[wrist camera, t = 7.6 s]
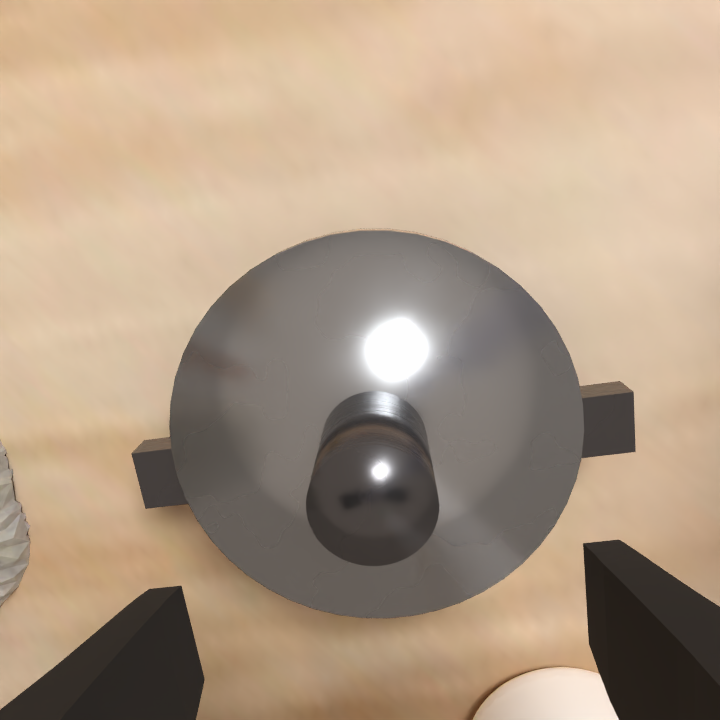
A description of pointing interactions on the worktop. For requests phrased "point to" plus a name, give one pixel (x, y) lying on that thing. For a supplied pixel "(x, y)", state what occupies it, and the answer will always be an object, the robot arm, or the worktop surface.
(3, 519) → the ceramic cottage
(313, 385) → the lid
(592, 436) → the pot
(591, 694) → the water bottle
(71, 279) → the worktop surface
